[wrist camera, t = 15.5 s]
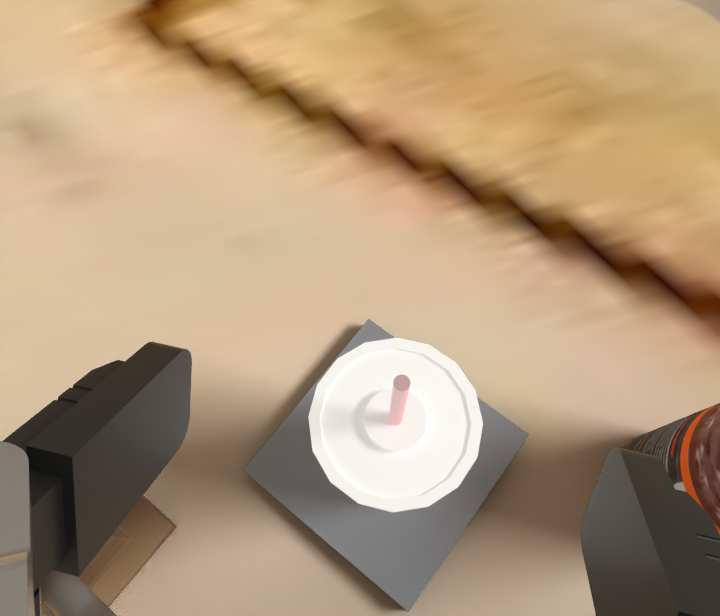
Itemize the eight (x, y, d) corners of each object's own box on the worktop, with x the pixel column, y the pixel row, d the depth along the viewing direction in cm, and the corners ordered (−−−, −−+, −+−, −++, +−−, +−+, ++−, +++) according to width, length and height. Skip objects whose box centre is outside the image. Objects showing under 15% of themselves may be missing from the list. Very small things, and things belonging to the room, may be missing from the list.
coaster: (524, 437, 31) (528, 434, 30) (407, 610, 28) (408, 611, 27) (368, 325, 33) (368, 318, 32) (246, 472, 30) (242, 470, 29)
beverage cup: (450, 397, 30) (509, 283, 17) (452, 526, 28) (521, 505, 15) (330, 393, 31) (299, 277, 18) (322, 520, 28) (279, 495, 15)
